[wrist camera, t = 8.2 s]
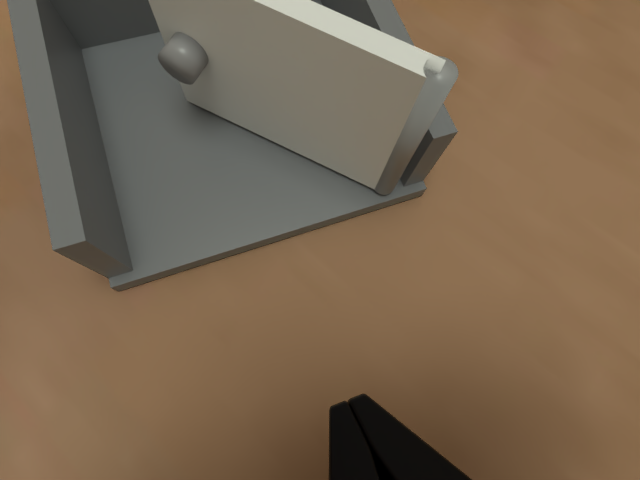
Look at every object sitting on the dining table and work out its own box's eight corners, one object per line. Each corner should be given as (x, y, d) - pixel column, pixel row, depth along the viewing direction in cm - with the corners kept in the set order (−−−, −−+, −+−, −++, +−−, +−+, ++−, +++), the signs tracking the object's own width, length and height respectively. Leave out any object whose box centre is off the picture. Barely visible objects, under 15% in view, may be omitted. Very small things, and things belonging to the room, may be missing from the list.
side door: (397, 180, 23) (463, 65, 14) (381, 215, 22) (439, 116, 13) (197, 86, 24) (143, -76, 15) (175, 116, 23) (105, -35, 14)
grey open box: (421, 195, 24) (468, 133, 18) (118, 291, 21) (45, 258, 15) (317, -33, 29) (324, -146, 22) (58, 21, 26) (-16, -91, 19)
